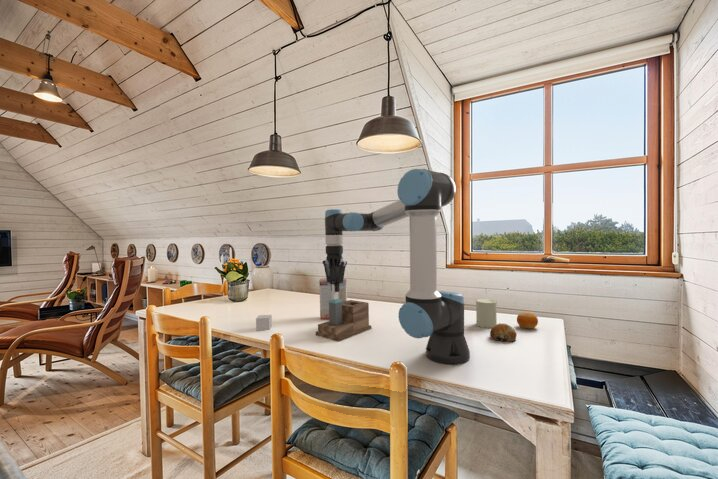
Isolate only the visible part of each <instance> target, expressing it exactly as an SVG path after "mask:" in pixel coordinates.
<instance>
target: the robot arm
mask: <svg viewBox="0 0 718 479" xmlns="http://www.w3.org/2000/svg"><path fill="white" fill-rule="evenodd" d="M456 191H457V188H456V183H455V181H454V180H453V178H452V177H450V175H448V174H446V173H444V172H440V171H439V172H438V171H435V170H434V171H433V170H428V169H426V168H414V169H410V170H408V171H407V172H405V173H404V174H403V176H402V177H401V178H400V180H399V182H398V185H397V197H398V199H399V200H397V201H394V202H392V203H390V204H386V205H385V206H383V207H381V208H379V209H376V210H375V211H372V212H370V213H361V212H360V213H359V212H355V211H354V212H345V213H343V211H342V209H338V208H337V209H327V210H325V212H324V227H325V228H324V231H325V232H324V233H325V234H324V235H325V237H324V238H325V245H326V246H325V254H326V258H325V259H324V260H322V264H323V267H324V273H325V278H326V279H327V282H329V283H330V284H331V291H332V299H333V300H335V299H339V293H338V292H339V284H340V283H343V279H344V278H345V272H346V267H347V264H348V262H347V261H346V260H344V258H343V252H344V247H343V243H344V242H343V240H344V238H343V236H344V234H343V232H377V231H381V230H383V228H384V227H385V226H389V225H391V224H393V223H397V222H399V221H401V220H404V219H407V218H409V290H408V291H407V292H406V293H405V303H403V304H402V305H401V307H400V308H399V310H398V322H399V324H400V326H401V328H402V329H403V330H404V332H405V333H406V334H407V335H408V336H410V337H411V338H414V339H422V338H423V339H424V338H428V337H429V338H428V341H427V344H426V347H425V356H426V358H428V359H430V360H431V361H433V362H437V363H440V364H447V365H458V364H464V363H466V362H468V361H469V360H470V358H471V355H470V354H471V353H470V352H471V351H470V349H469V345H468V342H467V340H466V337H465V299H464V296H463V294H461V293H459V292H452V291H445V290H444V291H443V290H438V289H437V286H438V285H437V284H438V283H437V281H438V280H437V276H438V275H437V273H438V272H437V270H438V269H437V267H438V266H437V262H438V260H437V259H438V258H437V216H438V215H439V214H440V213H441V212H442V208H443V207H446V206H448V205H449V204H450V203H451V202H452V201H453V200H454V198H455V195H456Z"/></svg>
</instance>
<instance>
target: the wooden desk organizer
mask: <svg viewBox="0 0 718 479" xmlns="http://www.w3.org/2000/svg"><path fill="white" fill-rule="evenodd" d="M369 309H370V308H369V302H365V301H360V300H353V299H350V300H347V301H345V302H342V324H341V325H338V326H333V325H329V320H328V321H325V322H322V323H318V324H317V331H315V336H317V337H321V338H324V339H327V340H332V341H335V342H342V341H344V340H347V339H349V338H352V337H355V336H357V335H359V334H362V333H365V332H367V331H369V330H372V329H373V328H372V325H370V316H369V315H370V313H369V311H370V310H369Z"/></svg>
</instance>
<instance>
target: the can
mask: <svg viewBox="0 0 718 479" xmlns="http://www.w3.org/2000/svg"><path fill="white" fill-rule="evenodd" d="M475 306H476V308H475V309H476V310H475V312H476V313H475V314H476V317H475V318H476V319H475V320H476V322H475V326H477V325H478V326H477V327H479V326H481V327H480V328H484V327H486V328H485V329H492V327H494V326H495V325H497V324H498V323H497V322H498V320H497V300H494V299H490V298H478V299H476V300H475Z"/></svg>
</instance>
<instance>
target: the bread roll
mask: <svg viewBox="0 0 718 479" xmlns="http://www.w3.org/2000/svg"><path fill="white" fill-rule="evenodd" d="M489 332H490V333H489V336H490V338H491V339H492V340H493V341H497V342H500V343H511V342H512V343H513V342H514V341H516V339H517V332H516V330H515V329H514V327H512V326H511V325H509V324H507V323H497V325H495V326H494V327H492V328H490V331H489Z"/></svg>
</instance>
